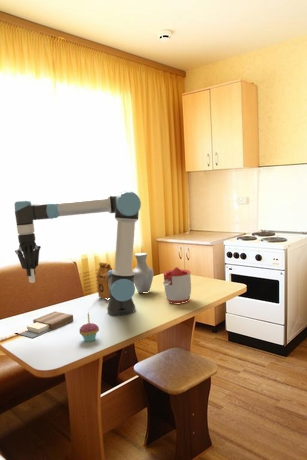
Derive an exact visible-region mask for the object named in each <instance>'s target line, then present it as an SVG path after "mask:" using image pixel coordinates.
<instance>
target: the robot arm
mask: <svg viewBox="0 0 307 460" xmlns="http://www.w3.org/2000/svg"><path fill="white" fill-rule="evenodd" d="M141 207H142V205H141V199H140V197H139V195H138V194H136V193H135V192H133V191H129V190H128V191H127V190H124V191H122V192H119V193H116V194H115V193H114V194H108V195H107V196H106V197H105V196H104V197H95V198H86V199H84V198H83V199H73V200H64V201H53V202H52V201H51V202H44V203H43V202H42V203H34V204H33V203H32V202H31V200H18V201H15V202H14V213H15V214H14V215H15V222H16V230H17V239H18V243H19V246H18V249H15V250H14V252H15V254H16V255H17V258H18V259H19V262H20V266H21V269H22V270H26V276H27V277H28V282H29V283H32V284H34V283H35V282H36V277H35V275H36V268H37V267H39V259H40V250H41V245H37V243H36V233H35V224H34V221H38V220H49V219H50V220H52V219H58V218H59V217H67V216H78V215H79V216H80V215H89V214H97V213H109V214H114V219H115V220H116V221H117V225H116V227H117V229H116V242H115V257H114V269H112V270H110V271H108V276H107V277H108V285H109V296H110V299H109V300H108V304H107V308H106V311H107V314H108V315H111V316H127V315H129V313H130V314H132V313H134V312H135V311H136V304H135V303H134V301H133V297H134V295H135V292H136V286H135V284H134V272H133V271H132V270H133V257H134V244H135V243H134V242H135V230H136V229H135V228H136V226H135V225H136V222H137V221H138V220H139V215H140V214H139V212H140V210H141ZM134 310H135V311H134ZM133 311H134V312H133ZM131 312H132V313H131Z"/></svg>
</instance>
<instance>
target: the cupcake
mask: <svg viewBox="0 0 307 460" xmlns="http://www.w3.org/2000/svg"><path fill="white" fill-rule="evenodd" d="M99 331H100V328H99V326H98V325H97V324H96V323H92V322H91V321H90V312H89V311H88V313H87V323H86V324H85V323H84V324H83V325H82V326H80V328H79V334H80V335H81V336H82V338H83V340H84V341H85V342H87V343H88V342H89V343H90V342H93V341H95V339H96V337H97V333H98V332H99Z"/></svg>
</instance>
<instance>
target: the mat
mask: <svg viewBox="0 0 307 460" xmlns="http://www.w3.org/2000/svg"><path fill="white" fill-rule="evenodd" d="M51 331H52V329H48V330H45V331H43V332H41V333H36V332H32V331H29V330H28V331H25V332H23V333H21V334H20V336H23V337H26V338H30V339H35V338H37V337H39V336H41V335H43V334H46V333H49V332H51Z"/></svg>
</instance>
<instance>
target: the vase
mask: <svg viewBox="0 0 307 460" xmlns="http://www.w3.org/2000/svg"><path fill="white" fill-rule="evenodd" d="M147 256H148V253H147V252H138V253H135V254H134V257H135V259H136V266H135V267H134V268H132V271H133V272H134V286H135V290H137V292H140V293H143V292H148V291H149V292H150V289H151V287H152V283H153V278H154V273H155V272H154V269H153V268H152V267H150V266H149V265H148V264H147Z"/></svg>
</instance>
